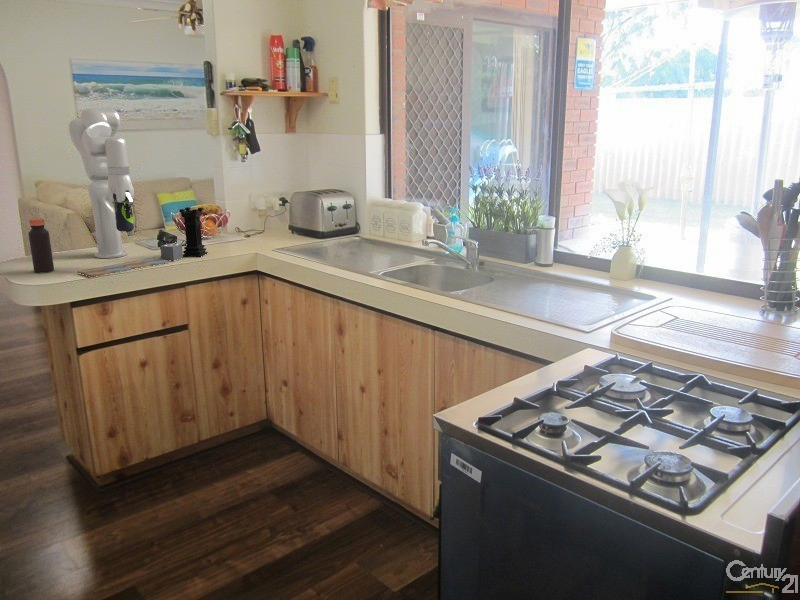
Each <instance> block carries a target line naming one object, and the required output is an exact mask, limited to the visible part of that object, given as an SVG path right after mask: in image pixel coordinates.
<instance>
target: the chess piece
mask: <svg viewBox="0 0 800 600" xmlns="http://www.w3.org/2000/svg"><path fill="white" fill-rule="evenodd" d="M203 211H204V208H203V207H197V208H196V209H195V208H193V209H192V210H191V207H189V206H187V207H184V208H181V209H179V213H180V217H181V218H183V219H184V222H183V225H184V231H185V232H184V233H185V244H186V246H184V248H183V249H184V250H182V252H183V256H185V257H184V258H202V257H204V256H206V255H208V254H209V252H208V251H207V248H205V244H203V241H202V239H203V237H202V229H201V228H202V227H201V226H202V225H201V224H202V220H201V216H203ZM207 253H208V254H207ZM205 254H206V255H205ZM203 255H204V256H203ZM201 256H202V257H201Z"/></svg>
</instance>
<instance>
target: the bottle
mask: <svg viewBox="0 0 800 600" xmlns="http://www.w3.org/2000/svg"><path fill="white" fill-rule="evenodd" d="M28 221H29V227H31V229H30V230H29V231H28V233H27V234H28V235H27V236H28V240H29V246H30V247H29V248H30V253H31V258H32V259H31V260H32V265H33V266H32V267H33V272H34V273H36V272H47V273H50V272H49V271H51V272H53V271H55V266H54V264H55V263H54V258H53V252H52V245H51V239H50V231H48V230H47V229H46V228H45V226H46V223H45V218H41V217H38V218H37V217H36V218H35V217H34V218H30V219H29V220H28Z"/></svg>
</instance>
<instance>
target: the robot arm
mask: <svg viewBox="0 0 800 600" xmlns="http://www.w3.org/2000/svg"><path fill="white" fill-rule="evenodd" d="M120 127H121V117H120V114H119V113H118V112H117V110H116V109H114V108H110V107H109V108H107V107H105V108H104V107H91V108H90V107H89V108H86V109H84V110H83V111H82V112H81V114H80V117H79V118H75V119H72V120H71V121H70V122H69V124H68V133H69V136H70V139H71V142H72V143H73V145H74V147H75V148H76V150H77V151H78V153H79V154H80V156H81V160H82V163H83V165H84V170H85V172H86V176H87V178H88V179H89V180H90V181H91V182H90V183H89V185H88V186H87V192H88V196H89V200H90V203H91V208H92V210H93V211H92V213H93V220H94V221H93V222H94V229H95V235H96V243H97V245H96V247H95V248H96V249H97V250H98V251H97V252H95V253H94V257H95V258H98V259H114V258H122V257H124V256H126V255H128V251H127V250H123V249H124V248H123V242H122V234H121V233H122V231H118V230H117V228H116V219H115V210H114V206H113V205H114V201H113V194H114V192H115V194H116V198H117V202H119V203H122V202H123V208H124V210H125V213H126V218H127V219H129V218H130V217H131V218H132V216H130V210H131V206H132V207H133V204H134V201H133V200H134V199H135V189H134V185H133V183H132V182H133V181H132V179H131V176H130V175H131V174H130V165H129V155H128V147H127V140H126V139H125V138H122V137H121V136H116V134H117V133H118V131H119V129H120ZM125 197H126V198H127V201H128V202H127V204H126V205H125V202H124V201H125ZM112 204H113V205H112ZM123 217H124V214H123Z"/></svg>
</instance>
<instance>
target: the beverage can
mask: <svg viewBox="0 0 800 600" xmlns="http://www.w3.org/2000/svg"><path fill="white" fill-rule="evenodd" d="M113 201H114V204H113V208H114V210H115V219H116V228H117V230H118V231H121V232H131V231H133V230H134V229H135V224H134V215H133V205H132V206H131V210H130V216H132V218H131V217H130V218H129V219H127V218H126V213H125V210H124V208H123V202H122V203H119V202H117V198H116V194H115V192H114V194H113ZM124 202H125V205H126V204H127V202H128V201H127V198H126V197H125V201H124ZM123 214H124V217H123Z"/></svg>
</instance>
